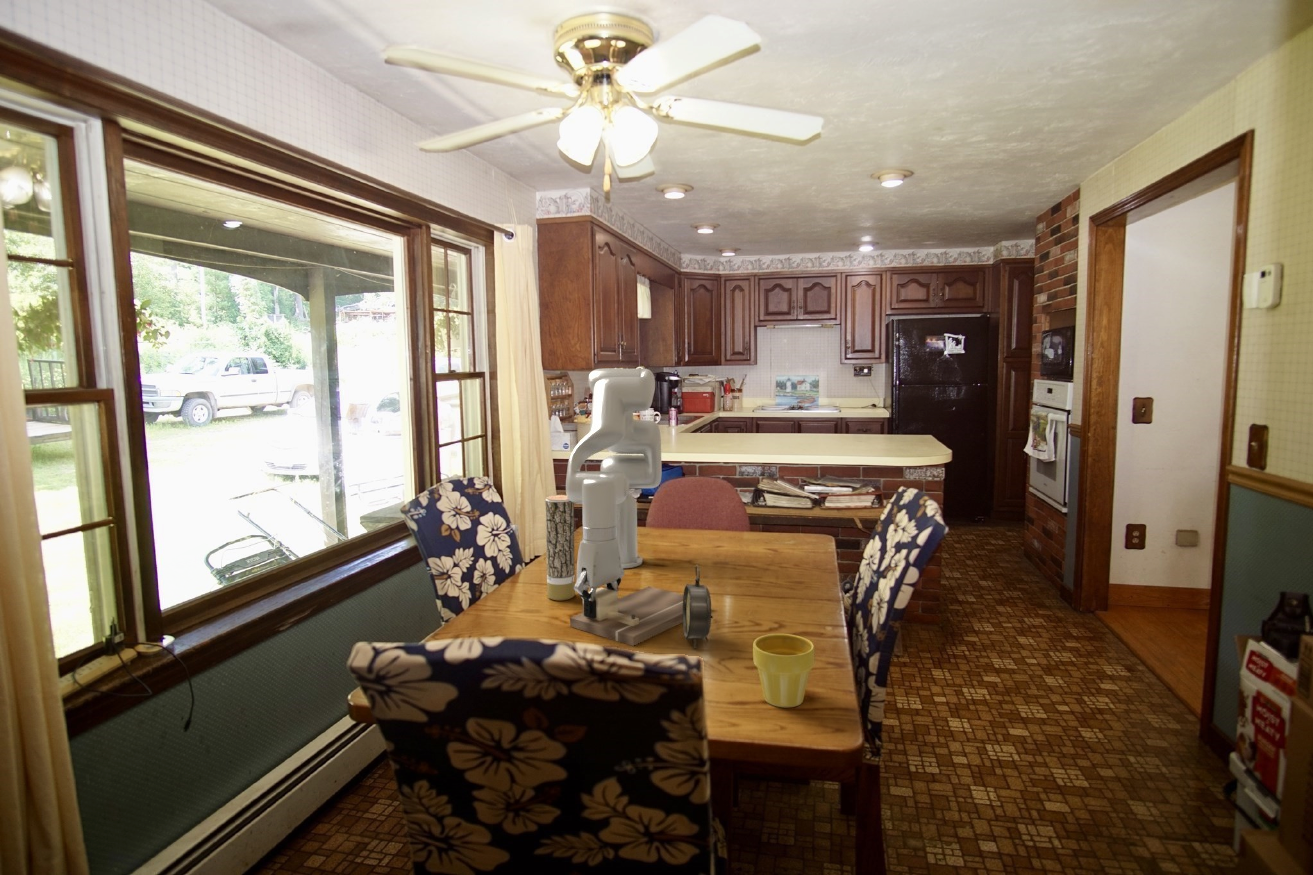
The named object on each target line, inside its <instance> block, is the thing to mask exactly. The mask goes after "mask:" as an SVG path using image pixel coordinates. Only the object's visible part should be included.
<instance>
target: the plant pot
mask: <svg viewBox="0 0 1313 875" xmlns="http://www.w3.org/2000/svg"><path fill="white" fill-rule="evenodd" d="M815 654H816V653H815V645H814V643H813V642H812V641H811V640H809V639H808V638H805V637H803V636H800V635H796V634H790V633H789V634H787V633H771V634H769V633H768V634H765V635H761V636H759V637H757V638H756V639H754V641H753V644H752V658H753V659H752V660H753V663H754V666H756V668H757V671H758V675H759V681H760V685H761V689H762V695H763V699H764V700H765V702H766V703H767V704H769V705H771V706H773V707H778V708H794V707H797V706H798V707H799V706H800V705H802V703H803V702H804V698H805V693H806V688H807V684H808V678H809V675H810V671H811V670H812V669H813V668H814V666H815V658H816V657H815Z"/></svg>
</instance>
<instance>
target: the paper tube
mask: <svg viewBox="0 0 1313 875" xmlns="http://www.w3.org/2000/svg"><path fill="white" fill-rule="evenodd" d="M574 504H575V503H572V502H571V501H570V500H569V499H568V497H567V495H564V494H556V495H550V496H546V497H545V536H546V537H545V538H546V541H545V542H546V581H547V582H546V583H547V584H546V585H547V586H546V588H547V591H546V593H547V594H546V595H547V598H549V599H550V600H553V601H567V600H568V601H569V600H570V599H572V598H574V597H575V594H576V590H575V589H574V585H575V584H576V582H575V578H576V575H575V574H576V571H575V570H576V568H575V567H576V566H575V563H576V562H575V505H574Z"/></svg>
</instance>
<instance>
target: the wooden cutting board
mask: <svg viewBox="0 0 1313 875" xmlns="http://www.w3.org/2000/svg"><path fill="white" fill-rule="evenodd" d="M683 596H684V593H683V594H682V593H678V592H674V591H670V590H666V589H662V588H657V587H653V586H647V587H644V588H642V589H639V590H637V591H635V592H631V593H628V594H627V595H624V596H622V597H618V613H622V614H625V615H629V616H631V615H633V614H634V615H635V617H636V618H639V624H637V625H635V626H631V625H628V624H624V623H621V622H617V621H614V620H611V619H607V618H606V619H603V620H601V621H598V620H595V619H591V618H588V617H585V616H583V612H581V613H579V614H576V615H573V616H571V617H569V621H570V622H569V624H570V626H569V627H571V628H575V629H577V630H581V631H584V632H587V633H589V634H592V635H593V634H594V635H596V636H599V637H602V638H605V639H609V640H613V641H616V642H618V643H622V644H625V645H628V644H630V645H629V646H631V647H635V646H636V645H639V644H640V642H641V643H643V642H645V641H647V640H648V638H649V639H651V638H653V637H655V636H657V635H659V634H661V633H663V632H665V631H667V630H669V629H671V628H674V627H675V626H677V625H679V624H680V625H681V624H683ZM652 636H653V637H652ZM644 640H645V641H644ZM638 643H639V644H638ZM634 645H635V646H634Z"/></svg>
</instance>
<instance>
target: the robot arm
mask: <svg viewBox="0 0 1313 875" xmlns="http://www.w3.org/2000/svg"><path fill="white" fill-rule="evenodd" d="M588 386H589V389H590V391H591V393H592V402H591V413H590V426H589V431H588V433H587V434H585V436H583V438H581V439H580V441H578V443H577V444H575V446H574V448H573V450H572V451H571V453H570V456H569V457H568V461H567V467H566V468H567V470H566V479H565V493H566V495H567V497H568V499H569V500H570V501H571V502H572V503H574V504H576V505H582V506H581V507H582V508H581V510H582V511H581V512H582V515H581V516H582V519H581V520H582V523H581V524H582V540H580V542H579V547H578V553H577V562H576V582H575V585H574V589H575V592H576V593H578V595H579V596H580V597H581V599H582V600H583V599H584V616H586V617H589V618H593V619H594V618H596V600H594V597H595V593H596V589H598V588H600V587H602V586H605V588H606V589H610V590H614V591H617V592H618V593H619V586H620V584H621V582H622V579H623V577H624V575H625V574H626V573H625V572H626V571H625V569H631V568H632V569H633V568H636V567H639V566H641V565H642V564H643V558H642V556H640V555H638V505H637V501H636V499H635V497H634V495H633V494H632V493H631V492H630V489H654V488H657V487H659V485H660V484H661V481H662V473H663V472H662V470H663V469H662V465H663V464H662V438H661V437H662V436H661V430H660V426H659V424H657V422H655V421H653V420H649V419H647V420H646V419H643V420H642V419H640V420H639V419H635V418H634V412H646V411H648V410H649V409H651V406H652V403H653V399H654V394H655V391H656V390H655V389H656V379H655V375H654V373H653V371H652V370H650V369H648V368H617V367H616V368H614V367H613V368H608V367H607V368H596V369H594V370H592V371H590V372H589V375H588ZM604 450H606V451H608V452H609V453H611V454H613V455H609V456H607V457H604V459H602V461H601V463H600V470H596V471H595V470H591V471H590V470H587V471H586V470H584V471H583V470H581V468H582V465H583V464H584V463H585V461H587V459H589V458H591V456H593V455H596V454H597V453H599V452H602V451H604ZM589 589H590V591H589ZM589 592H590V593H589Z"/></svg>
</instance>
